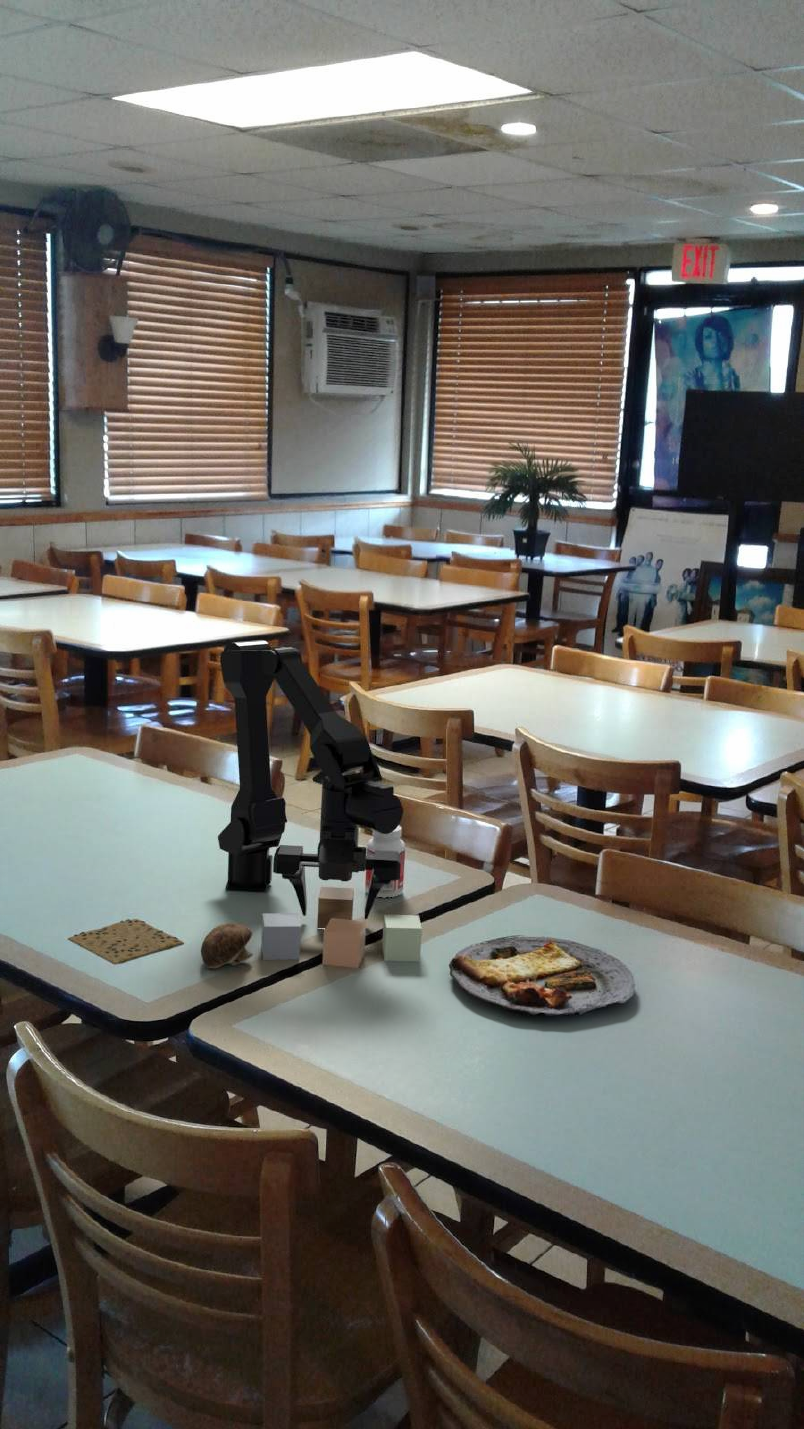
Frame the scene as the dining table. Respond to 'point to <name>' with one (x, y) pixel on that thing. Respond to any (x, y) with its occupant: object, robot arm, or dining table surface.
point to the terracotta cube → (344, 942)
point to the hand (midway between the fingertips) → (335, 916)
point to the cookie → (125, 941)
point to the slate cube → (280, 936)
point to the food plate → (542, 975)
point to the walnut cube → (334, 904)
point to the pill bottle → (387, 844)
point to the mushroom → (226, 945)
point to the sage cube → (401, 938)
